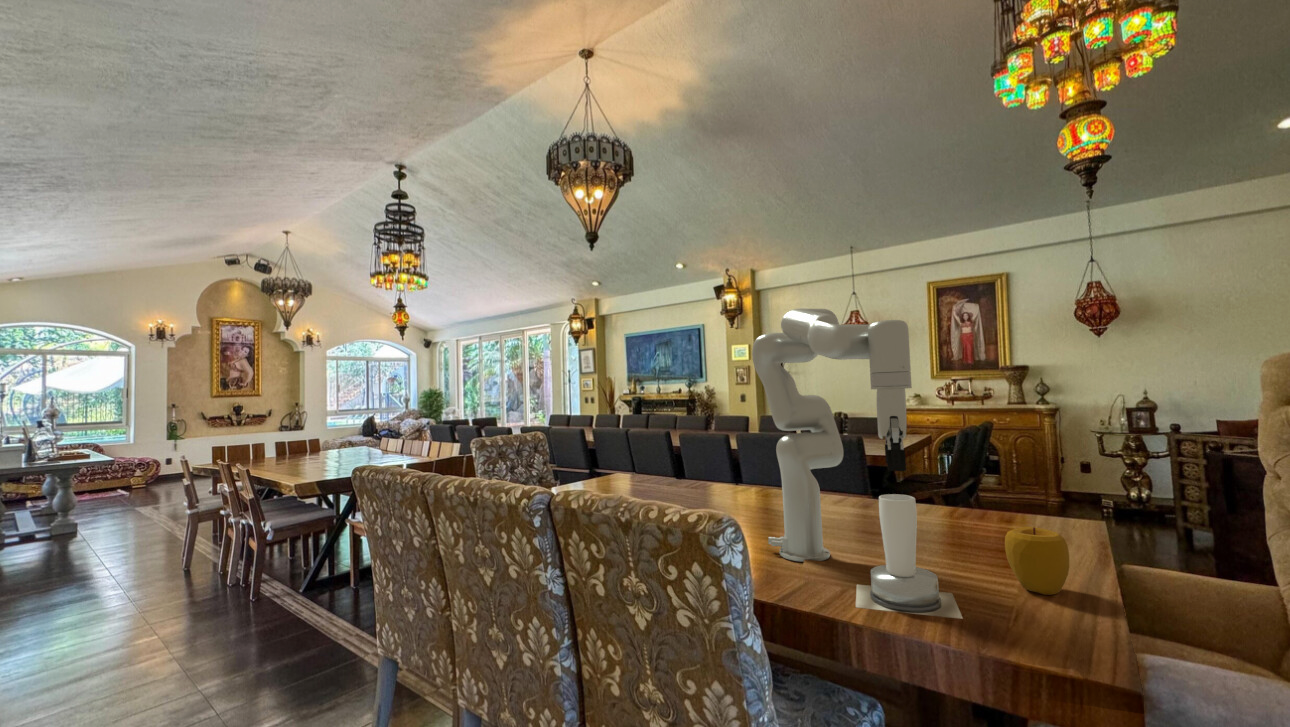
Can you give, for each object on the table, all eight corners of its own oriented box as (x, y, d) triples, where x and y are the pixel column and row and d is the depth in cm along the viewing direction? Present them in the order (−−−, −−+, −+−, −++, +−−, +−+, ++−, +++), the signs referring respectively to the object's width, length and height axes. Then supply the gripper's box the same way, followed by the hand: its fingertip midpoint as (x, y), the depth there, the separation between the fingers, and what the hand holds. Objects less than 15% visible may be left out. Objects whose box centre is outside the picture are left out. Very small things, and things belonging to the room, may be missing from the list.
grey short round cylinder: (870, 608, 103) (869, 581, 103) (870, 585, 114) (868, 561, 115) (945, 616, 98) (943, 588, 98) (937, 591, 110) (935, 566, 110)
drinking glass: (918, 581, 102) (913, 501, 103) (879, 576, 106) (875, 499, 106) (921, 571, 108) (917, 495, 108) (885, 566, 111) (881, 493, 112)
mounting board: (855, 612, 103) (855, 607, 103) (856, 589, 115) (856, 584, 115) (963, 624, 97) (962, 618, 97) (952, 598, 109) (952, 593, 109)
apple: (1003, 578, 118) (999, 519, 119) (1064, 584, 114) (1059, 522, 114) (1013, 596, 108) (1008, 531, 109) (1079, 603, 104) (1074, 535, 105)
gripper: (870, 382, 118) (874, 460, 117) (871, 382, 102) (875, 473, 101) (908, 381, 115) (912, 461, 114) (915, 381, 99) (920, 474, 98)
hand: (895, 466), depth 108 cm, fingers open, 9 cm apart
